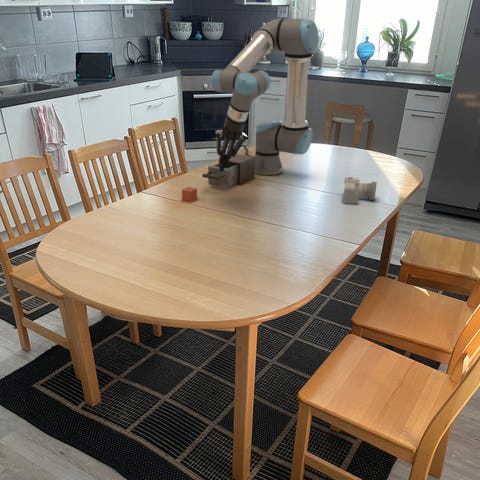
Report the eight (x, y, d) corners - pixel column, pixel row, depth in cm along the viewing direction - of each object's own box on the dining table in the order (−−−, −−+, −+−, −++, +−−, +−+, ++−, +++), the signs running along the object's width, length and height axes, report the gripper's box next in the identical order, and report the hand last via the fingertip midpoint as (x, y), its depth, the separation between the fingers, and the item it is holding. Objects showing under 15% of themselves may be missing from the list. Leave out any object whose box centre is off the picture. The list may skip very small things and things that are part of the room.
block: (182, 200, 204) (181, 189, 202) (188, 197, 207) (188, 186, 205) (190, 202, 202) (190, 191, 200) (197, 199, 206) (196, 188, 203)
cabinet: (239, 185, 223) (240, 163, 217) (218, 180, 227) (218, 159, 222) (254, 178, 232) (255, 156, 227) (233, 174, 237) (234, 153, 232)
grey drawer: (219, 192, 211) (219, 173, 207) (200, 188, 215) (200, 169, 211) (242, 181, 225) (242, 163, 220) (223, 177, 229) (223, 159, 224)
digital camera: (368, 215, 204) (372, 194, 197) (335, 208, 209) (338, 187, 201) (377, 195, 215) (381, 174, 208) (346, 189, 219) (349, 168, 212)
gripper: (222, 121, 180) (207, 173, 198) (255, 125, 184) (238, 176, 202) (218, 109, 184) (204, 161, 202) (250, 113, 188) (234, 164, 206)
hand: (221, 169), depth 202 cm, fingers closed
